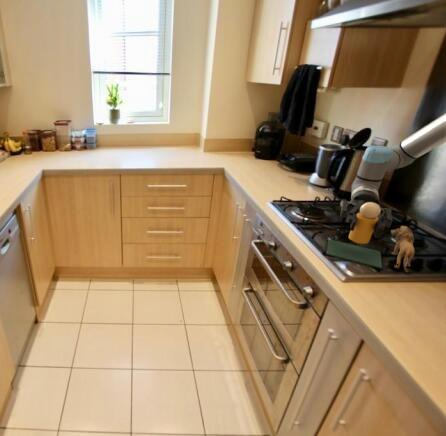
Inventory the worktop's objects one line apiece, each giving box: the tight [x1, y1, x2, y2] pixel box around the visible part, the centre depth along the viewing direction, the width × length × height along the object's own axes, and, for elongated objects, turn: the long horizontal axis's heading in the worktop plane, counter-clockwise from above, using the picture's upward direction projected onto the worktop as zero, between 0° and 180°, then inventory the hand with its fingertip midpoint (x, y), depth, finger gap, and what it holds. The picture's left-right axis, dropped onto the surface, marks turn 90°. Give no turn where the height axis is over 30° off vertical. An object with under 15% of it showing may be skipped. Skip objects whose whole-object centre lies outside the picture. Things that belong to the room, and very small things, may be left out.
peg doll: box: [348, 202, 381, 245], centre depth 94 cm, size 5×5×12 cm
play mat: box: [325, 239, 383, 270], centre depth 99 cm, size 14×10×1 cm
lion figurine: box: [390, 225, 415, 273], centre depth 94 cm, size 15×5×9 cm, turn 156°
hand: (365, 229), depth 90 cm, fingers closed on peg doll, 5 cm apart
